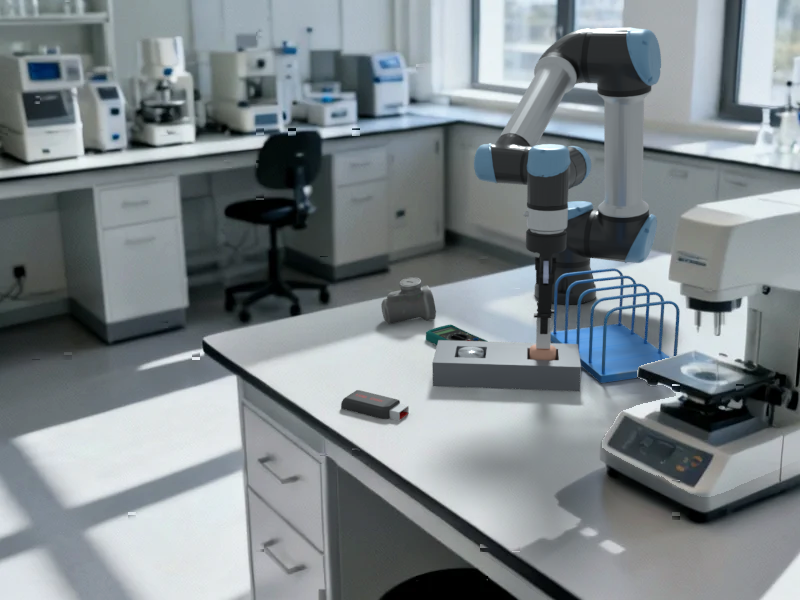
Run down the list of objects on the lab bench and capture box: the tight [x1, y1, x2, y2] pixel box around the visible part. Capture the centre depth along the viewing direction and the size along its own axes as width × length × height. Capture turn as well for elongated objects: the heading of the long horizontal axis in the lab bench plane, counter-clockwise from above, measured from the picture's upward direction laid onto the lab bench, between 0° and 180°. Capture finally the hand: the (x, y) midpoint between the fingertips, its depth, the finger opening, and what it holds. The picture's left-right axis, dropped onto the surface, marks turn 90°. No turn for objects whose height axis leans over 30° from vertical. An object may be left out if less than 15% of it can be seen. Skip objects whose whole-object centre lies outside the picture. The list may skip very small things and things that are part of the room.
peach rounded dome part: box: [530, 344, 556, 360], centre depth 180 cm, size 5×5×4 cm
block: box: [431, 340, 582, 392], centre depth 182 cm, size 28×12×5 cm, turn 82°
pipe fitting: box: [381, 276, 437, 325], centre depth 213 cm, size 12×8×10 cm
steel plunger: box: [458, 347, 484, 358], centre depth 182 cm, size 5×5×4 cm
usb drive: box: [340, 389, 410, 421], centre depth 169 cm, size 5×12×3 cm, turn 58°
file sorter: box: [550, 267, 680, 384], centre depth 190 cm, size 25×17×15 cm
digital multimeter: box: [425, 324, 489, 346], centre depth 199 cm, size 7×15×3 cm, turn 34°
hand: (543, 347), depth 179 cm, fingers closed
